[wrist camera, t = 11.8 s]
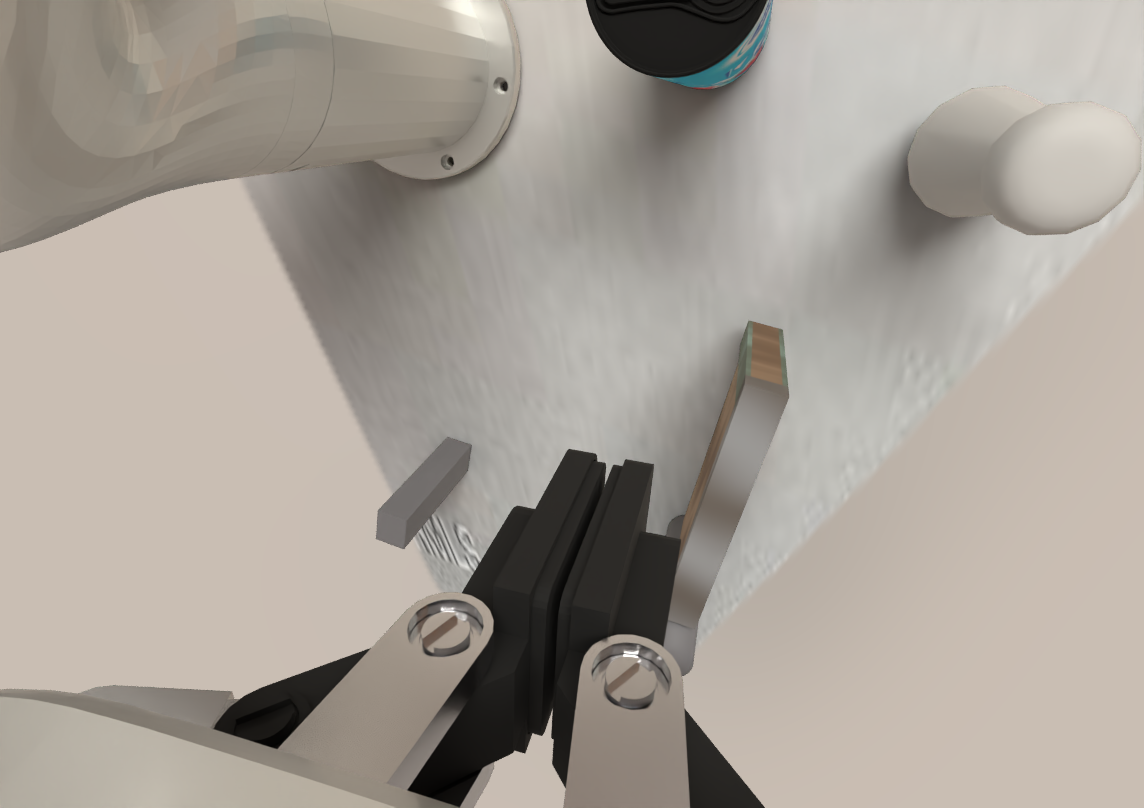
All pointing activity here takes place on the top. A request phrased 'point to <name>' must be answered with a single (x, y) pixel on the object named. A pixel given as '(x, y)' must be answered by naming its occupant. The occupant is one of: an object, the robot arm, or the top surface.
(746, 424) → the gate
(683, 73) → the beverage can
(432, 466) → the post
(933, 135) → the salt shaker
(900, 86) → the top surface
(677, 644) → the hinge post
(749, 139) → the top surface
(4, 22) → the robot arm
